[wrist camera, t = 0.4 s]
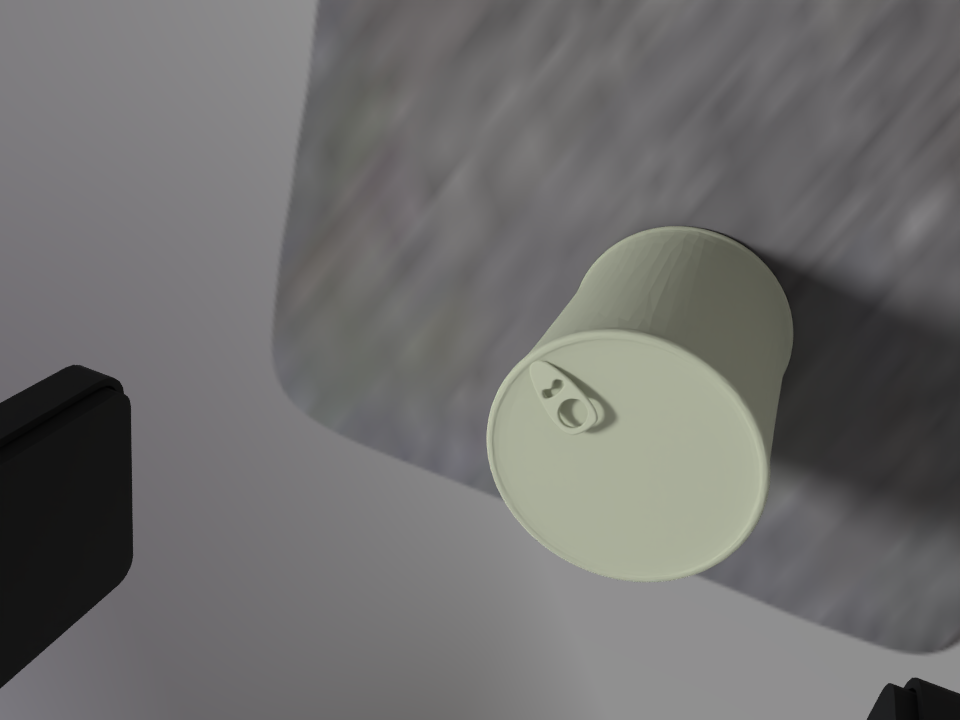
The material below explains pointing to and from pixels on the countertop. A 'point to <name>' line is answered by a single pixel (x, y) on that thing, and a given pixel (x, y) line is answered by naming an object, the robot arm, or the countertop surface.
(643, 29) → the countertop surface
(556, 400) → the can
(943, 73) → the countertop surface
